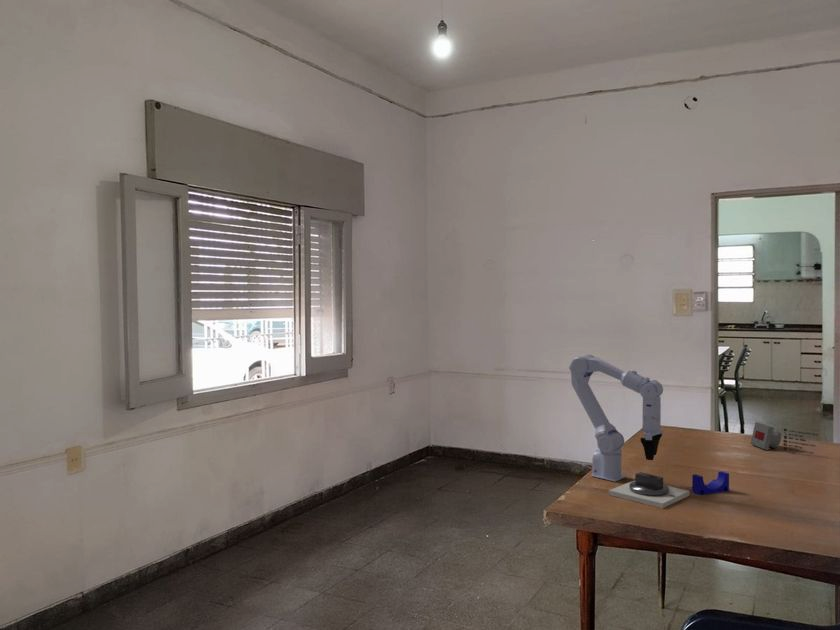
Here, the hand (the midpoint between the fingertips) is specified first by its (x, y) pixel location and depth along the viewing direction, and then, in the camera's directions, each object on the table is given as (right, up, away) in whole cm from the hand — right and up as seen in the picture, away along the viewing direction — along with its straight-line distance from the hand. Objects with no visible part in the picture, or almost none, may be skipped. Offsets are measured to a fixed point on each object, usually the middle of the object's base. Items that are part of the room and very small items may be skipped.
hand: (651, 457), depth 217 cm
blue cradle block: (+16, -10, -7) cm, 20 cm away
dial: (-5, -8, -11) cm, 14 cm away
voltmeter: (+70, -8, +46) cm, 84 cm away
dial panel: (-5, -10, -11) cm, 15 cm away
